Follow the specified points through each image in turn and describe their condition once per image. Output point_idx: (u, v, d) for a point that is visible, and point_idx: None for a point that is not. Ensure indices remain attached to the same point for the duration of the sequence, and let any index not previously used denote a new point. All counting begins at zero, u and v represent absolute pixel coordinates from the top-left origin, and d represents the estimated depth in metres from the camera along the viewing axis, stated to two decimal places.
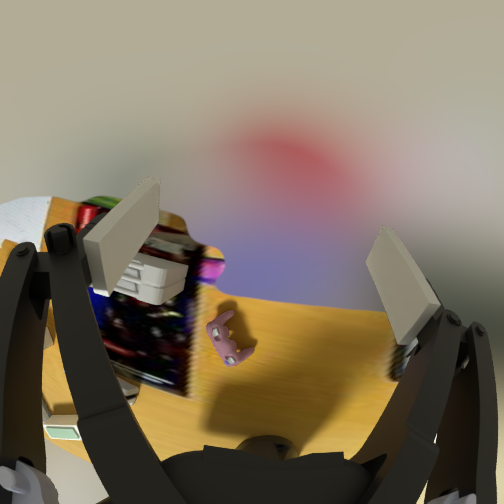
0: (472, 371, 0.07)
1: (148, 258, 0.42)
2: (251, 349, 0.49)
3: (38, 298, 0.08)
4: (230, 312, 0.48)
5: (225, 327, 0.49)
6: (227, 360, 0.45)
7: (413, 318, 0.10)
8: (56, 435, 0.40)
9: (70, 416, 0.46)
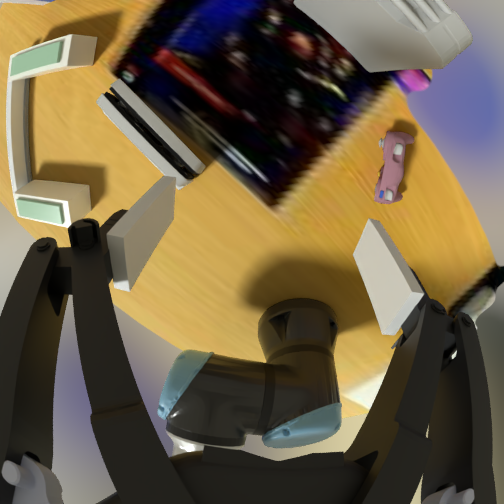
0: (461, 363, 0.07)
1: None
2: (401, 195, 0.32)
3: (58, 293, 0.08)
4: (413, 138, 0.28)
5: None
6: (385, 192, 0.29)
7: (396, 307, 0.10)
8: (28, 213, 0.32)
9: (61, 184, 0.35)
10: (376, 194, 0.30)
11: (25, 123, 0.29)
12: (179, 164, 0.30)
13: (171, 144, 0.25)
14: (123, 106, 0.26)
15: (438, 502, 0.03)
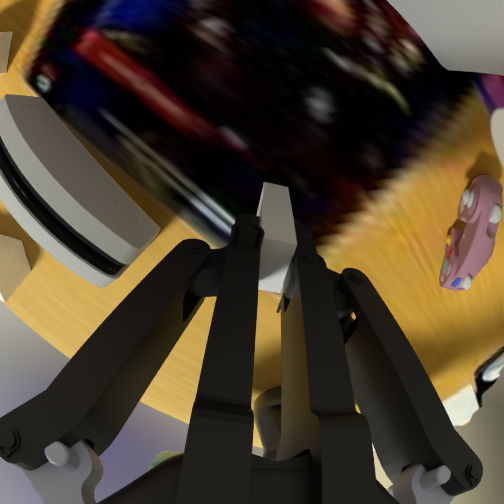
0: (368, 333, 0.08)
1: None
2: None
3: (202, 296, 0.10)
4: (501, 186, 0.14)
5: None
6: (462, 280, 0.15)
7: None
8: None
9: None
10: (448, 281, 0.16)
11: None
12: None
13: (73, 222, 0.12)
14: None
15: (411, 489, 0.04)
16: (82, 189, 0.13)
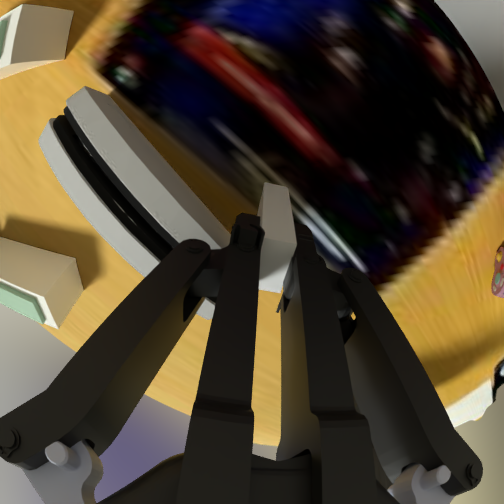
0: (368, 333, 0.08)
1: None
2: None
3: (202, 296, 0.10)
4: None
5: None
6: None
7: None
8: None
9: (35, 254, 0.22)
10: (501, 291, 0.17)
11: None
12: None
13: None
14: None
15: (410, 489, 0.04)
16: (200, 218, 0.13)
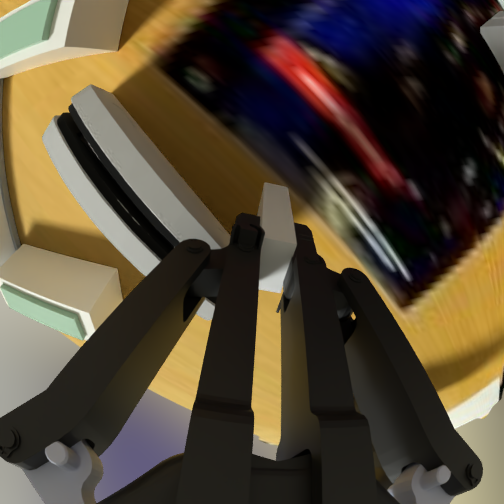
0: (368, 333, 0.08)
1: None
2: None
3: (202, 296, 0.10)
4: None
5: None
6: None
7: None
8: (23, 310, 0.19)
9: (69, 263, 0.22)
10: None
11: None
12: None
13: None
14: None
15: (410, 489, 0.04)
16: (203, 219, 0.14)
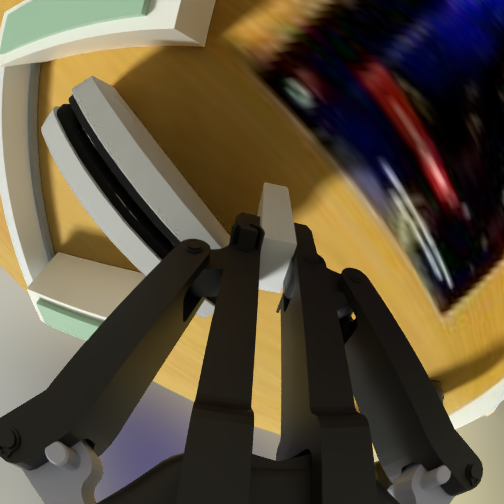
0: (368, 333, 0.08)
1: None
2: None
3: (202, 296, 0.10)
4: None
5: None
6: None
7: None
8: (65, 328, 0.19)
9: (121, 276, 0.22)
10: None
11: (33, 153, 0.16)
12: None
13: None
14: None
15: (411, 489, 0.04)
16: (201, 216, 0.13)
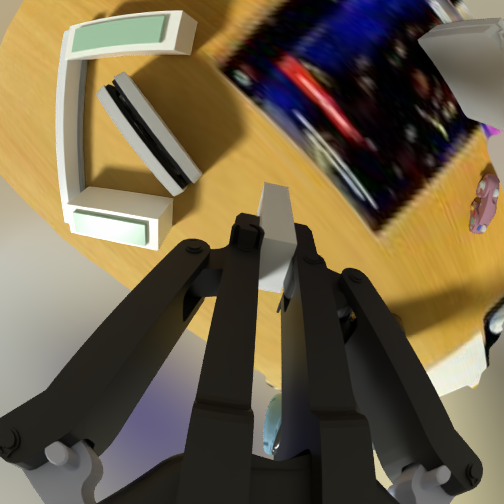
0: (368, 333, 0.08)
1: None
2: None
3: (202, 296, 0.10)
4: None
5: None
6: (482, 226, 0.28)
7: None
8: (91, 230, 0.31)
9: (134, 195, 0.34)
10: (475, 227, 0.29)
11: (80, 116, 0.27)
12: (176, 171, 0.28)
13: (171, 152, 0.24)
14: (124, 101, 0.23)
15: (411, 489, 0.04)
16: (174, 138, 0.25)
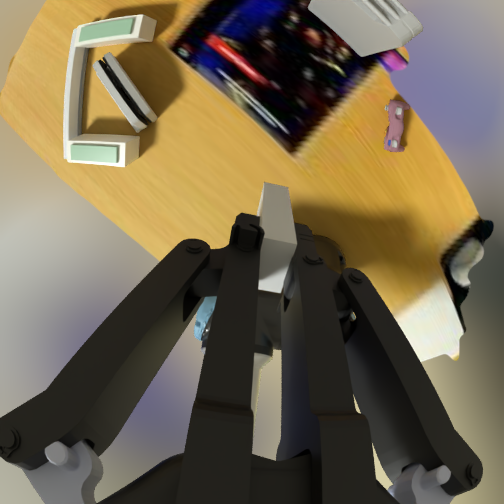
0: (368, 333, 0.08)
1: None
2: (403, 147, 0.41)
3: (202, 296, 0.10)
4: None
5: None
6: (391, 141, 0.38)
7: None
8: (81, 156, 0.40)
9: (113, 135, 0.44)
10: (385, 143, 0.39)
11: (82, 85, 0.37)
12: (137, 111, 0.38)
13: (132, 95, 0.34)
14: (109, 70, 0.34)
15: (411, 489, 0.04)
16: (136, 89, 0.35)
